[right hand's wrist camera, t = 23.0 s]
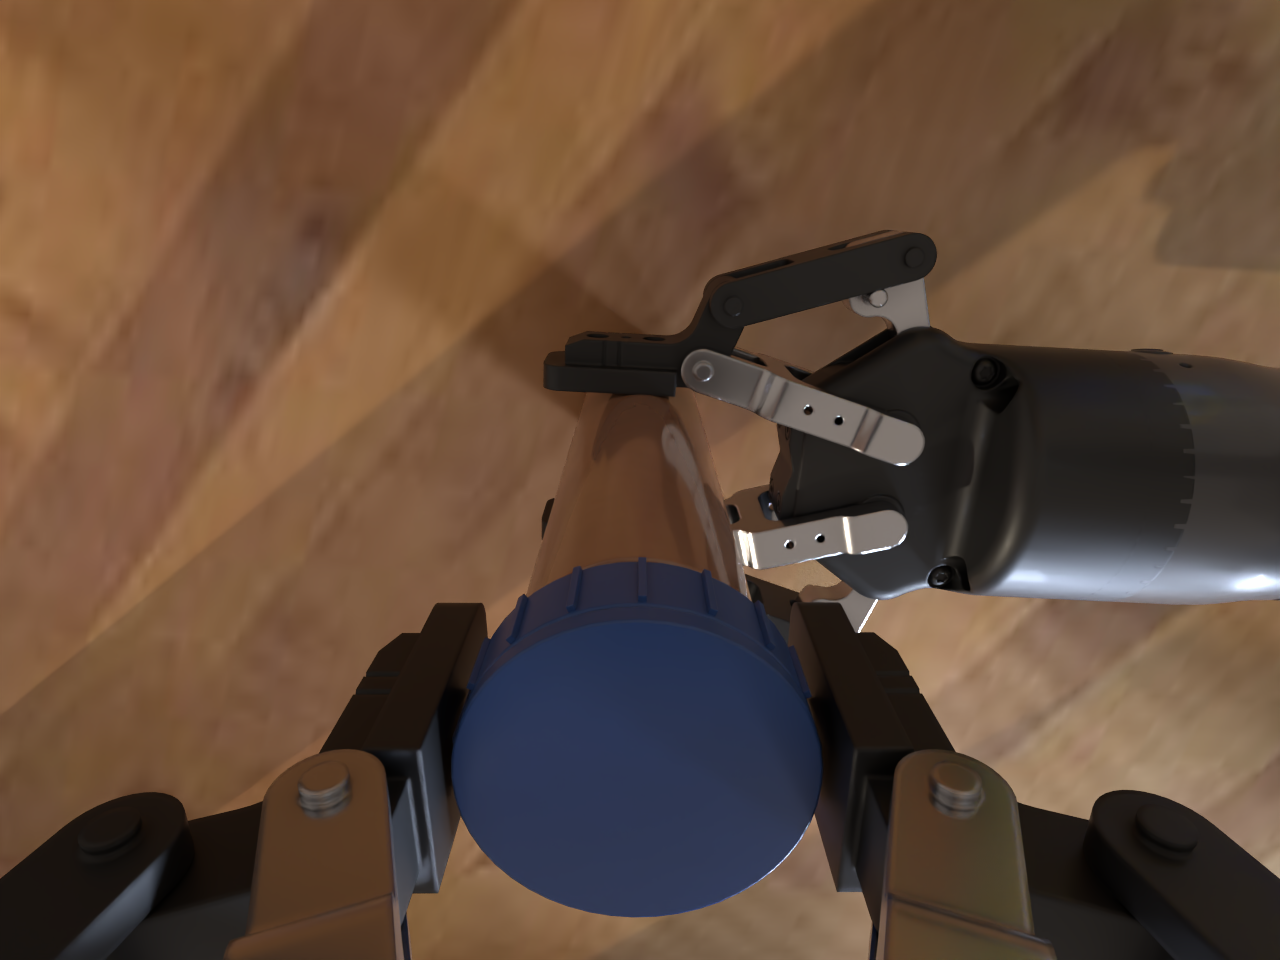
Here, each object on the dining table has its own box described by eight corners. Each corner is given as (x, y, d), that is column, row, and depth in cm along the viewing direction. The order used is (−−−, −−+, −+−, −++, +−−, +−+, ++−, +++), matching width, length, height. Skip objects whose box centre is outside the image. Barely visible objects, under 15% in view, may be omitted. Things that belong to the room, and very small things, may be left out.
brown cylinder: (670, 330, 27) (724, 561, 9) (709, 428, 28) (819, 794, 11) (569, 371, 28) (440, 663, 10) (611, 466, 29) (565, 873, 11)
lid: (873, 682, 11) (911, 759, 9) (661, 878, 12) (664, 973, 11) (609, 487, 10) (604, 538, 8) (409, 725, 11) (372, 806, 10)
